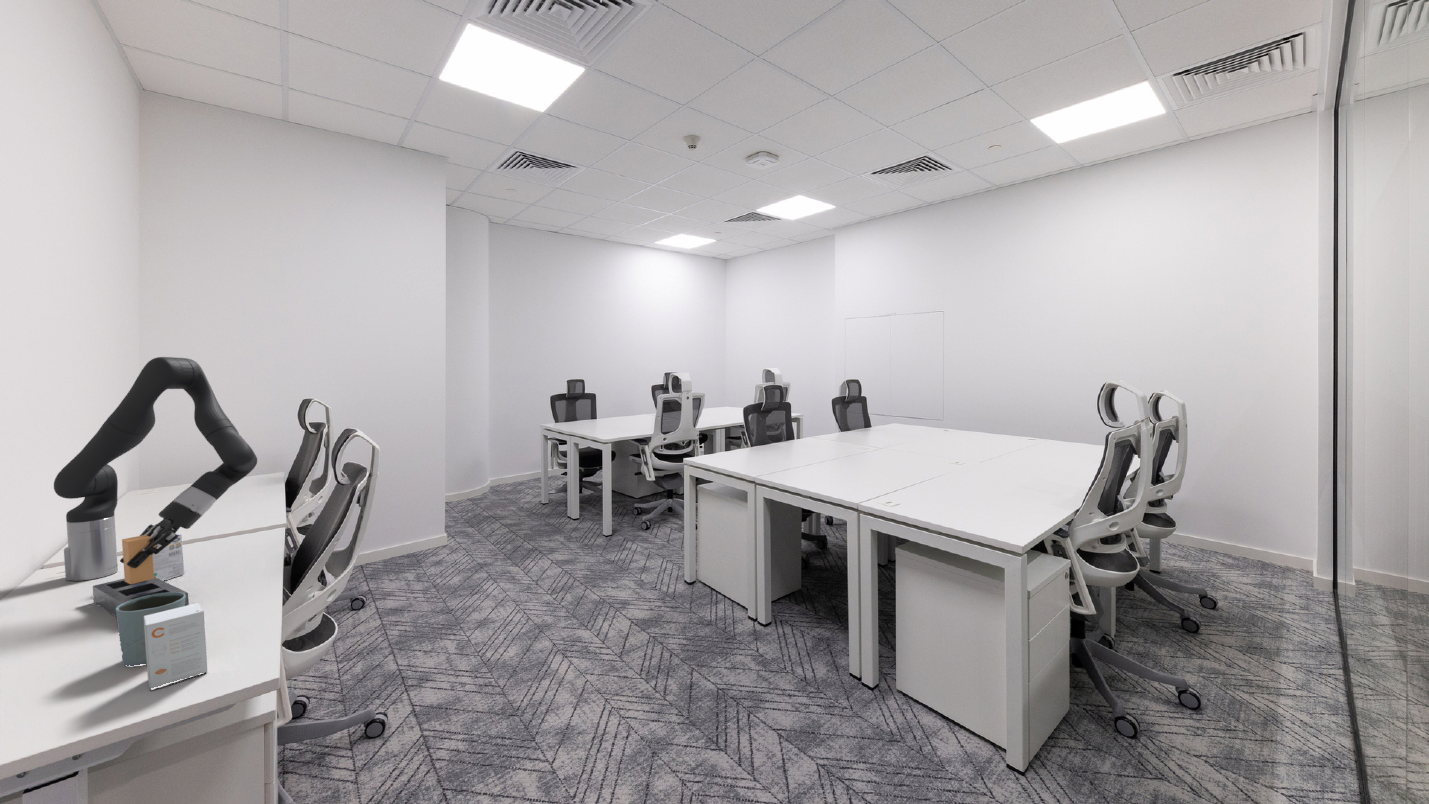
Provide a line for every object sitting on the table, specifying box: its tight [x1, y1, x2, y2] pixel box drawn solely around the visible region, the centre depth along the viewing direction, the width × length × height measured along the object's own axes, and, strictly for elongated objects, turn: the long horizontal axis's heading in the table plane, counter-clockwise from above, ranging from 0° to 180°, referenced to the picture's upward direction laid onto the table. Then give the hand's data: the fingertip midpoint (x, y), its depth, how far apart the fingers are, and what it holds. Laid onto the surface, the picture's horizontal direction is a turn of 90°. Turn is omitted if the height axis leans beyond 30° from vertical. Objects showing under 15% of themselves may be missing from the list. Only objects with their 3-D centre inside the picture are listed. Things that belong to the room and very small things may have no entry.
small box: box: [144, 602, 208, 690], centre depth 104 cm, size 8×6×13 cm
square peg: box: [121, 535, 154, 584], centre depth 136 cm, size 4×4×11 cm
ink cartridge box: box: [153, 534, 185, 582], centre depth 153 cm, size 10×6×14 cm, turn 174°
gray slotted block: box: [92, 577, 190, 618], centre depth 136 cm, size 28×10×4 cm, turn 62°
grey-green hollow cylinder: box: [115, 592, 186, 666], centre depth 112 cm, size 10×10×12 cm
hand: (127, 564), depth 134 cm, fingers closed on square peg, 4 cm apart
